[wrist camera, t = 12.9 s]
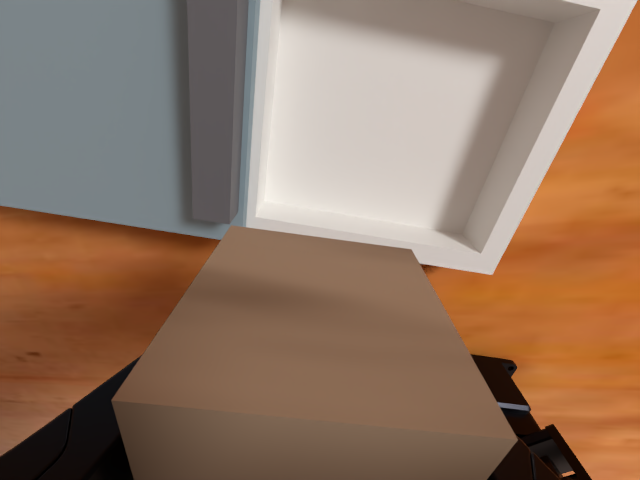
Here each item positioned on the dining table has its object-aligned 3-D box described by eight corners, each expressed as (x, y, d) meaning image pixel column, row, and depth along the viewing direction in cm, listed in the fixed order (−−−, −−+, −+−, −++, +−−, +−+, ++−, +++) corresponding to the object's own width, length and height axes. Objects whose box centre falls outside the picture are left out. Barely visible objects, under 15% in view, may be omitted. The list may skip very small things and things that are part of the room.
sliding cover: (245, 236, 16) (233, 257, 14) (-50, 189, 15) (-111, 205, 13) (268, -117, 10) (253, -172, 8) (-228, -237, 9) (-396, -338, 7)
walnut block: (371, 370, 10) (408, 580, 6) (230, 355, 10) (157, 563, 6) (411, 249, 8) (517, 439, 4) (231, 225, 8) (111, 400, 3)
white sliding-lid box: (468, 249, 19) (492, 274, 17) (10, 174, 17) (-46, 189, 15) (585, -2, 13) (650, -25, 11) (-93, -159, 11) (-219, -234, 9)
